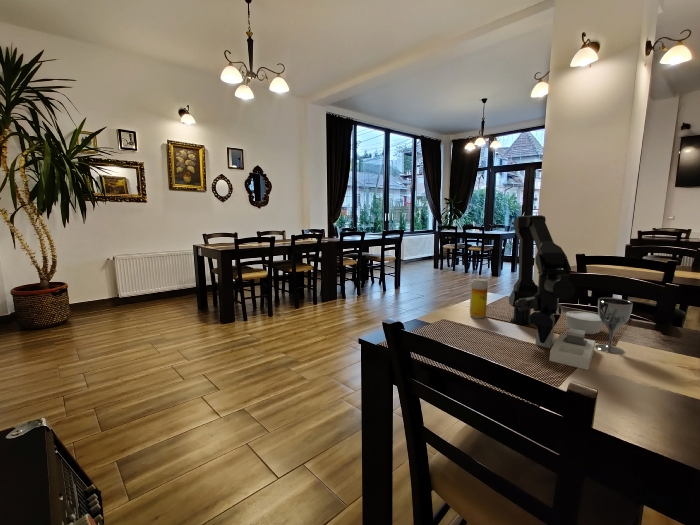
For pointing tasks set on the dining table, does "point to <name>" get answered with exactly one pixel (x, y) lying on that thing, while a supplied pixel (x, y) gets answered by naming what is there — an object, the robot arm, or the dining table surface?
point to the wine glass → (613, 319)
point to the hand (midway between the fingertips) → (544, 339)
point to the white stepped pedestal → (573, 349)
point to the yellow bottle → (478, 297)
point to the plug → (548, 341)
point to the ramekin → (584, 321)
